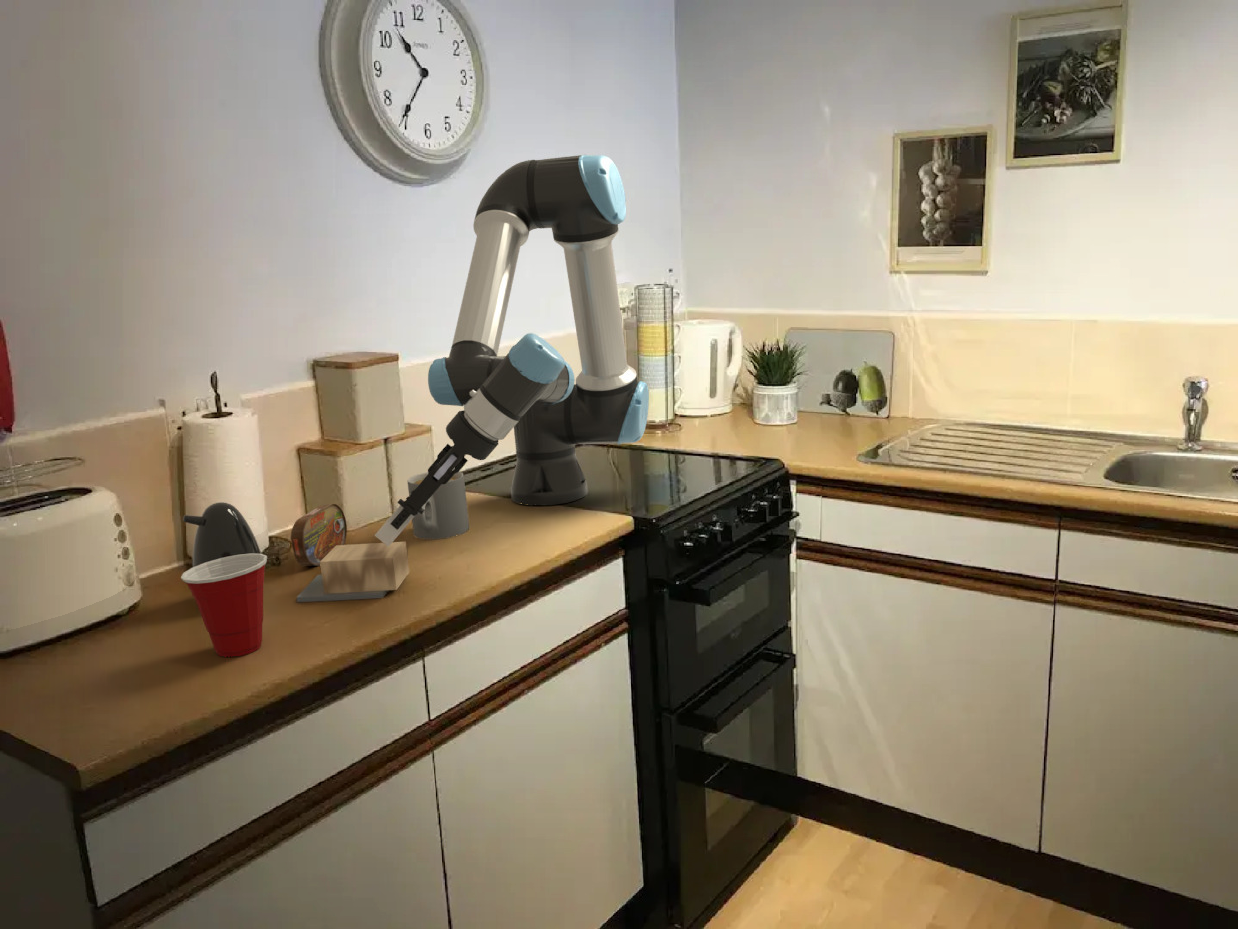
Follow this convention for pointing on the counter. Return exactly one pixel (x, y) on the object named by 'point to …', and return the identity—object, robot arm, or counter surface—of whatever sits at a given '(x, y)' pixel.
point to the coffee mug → (441, 509)
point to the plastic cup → (230, 601)
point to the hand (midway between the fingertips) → (382, 539)
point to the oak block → (364, 567)
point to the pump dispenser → (221, 534)
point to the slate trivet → (317, 593)
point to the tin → (318, 534)
